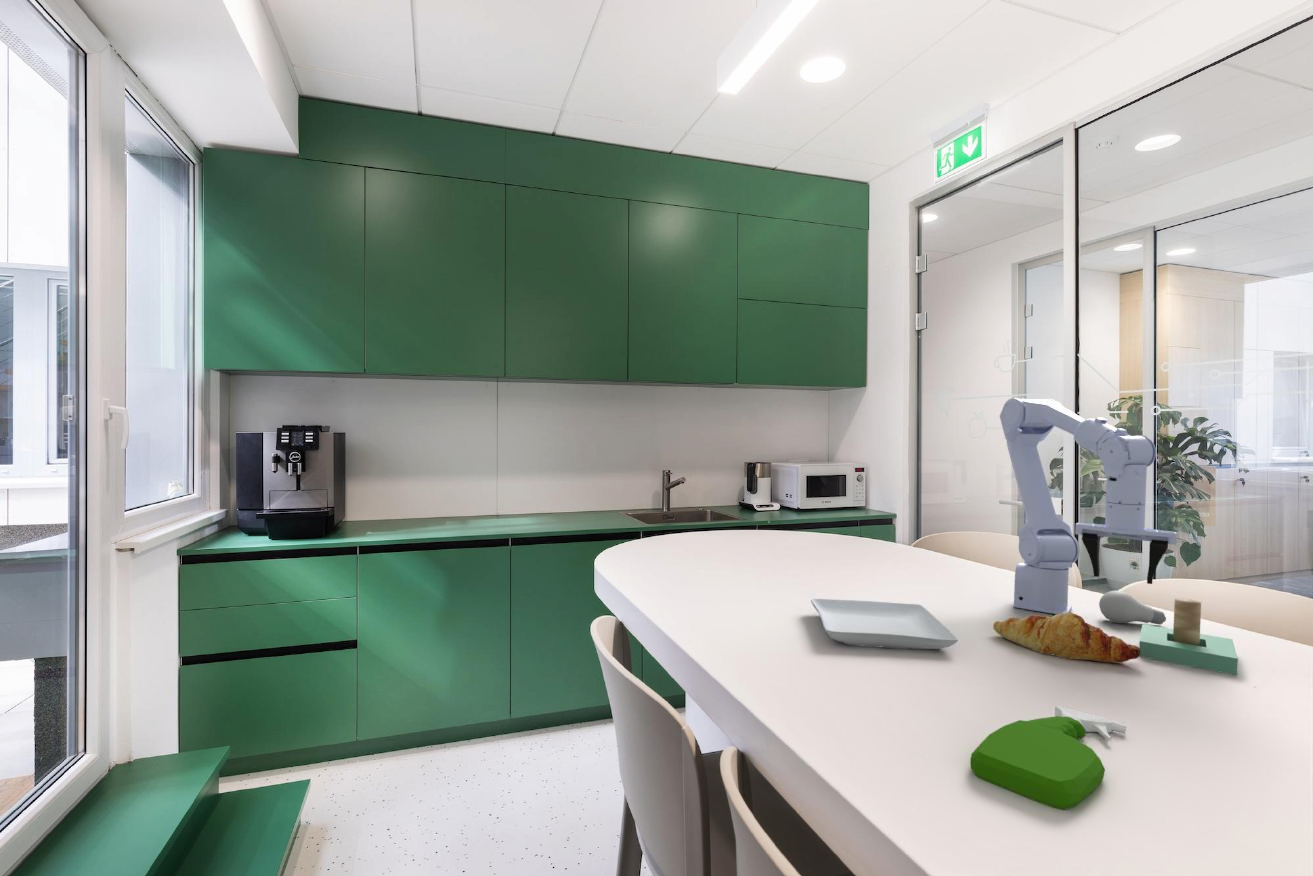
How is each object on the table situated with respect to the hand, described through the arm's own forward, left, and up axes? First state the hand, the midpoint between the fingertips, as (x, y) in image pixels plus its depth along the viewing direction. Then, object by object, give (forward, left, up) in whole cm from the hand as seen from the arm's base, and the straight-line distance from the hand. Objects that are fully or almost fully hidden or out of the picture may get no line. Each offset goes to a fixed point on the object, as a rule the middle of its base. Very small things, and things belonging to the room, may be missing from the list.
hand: (1122, 579), depth 116 cm
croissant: (-7, -15, -11) cm, 20 cm away
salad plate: (-34, -27, -11) cm, 45 cm away
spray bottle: (-3, -57, -11) cm, 58 cm away
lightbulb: (+6, +14, -9) cm, 18 cm away
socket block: (+9, -4, -10) cm, 14 cm away
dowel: (+9, -4, -10) cm, 14 cm away
